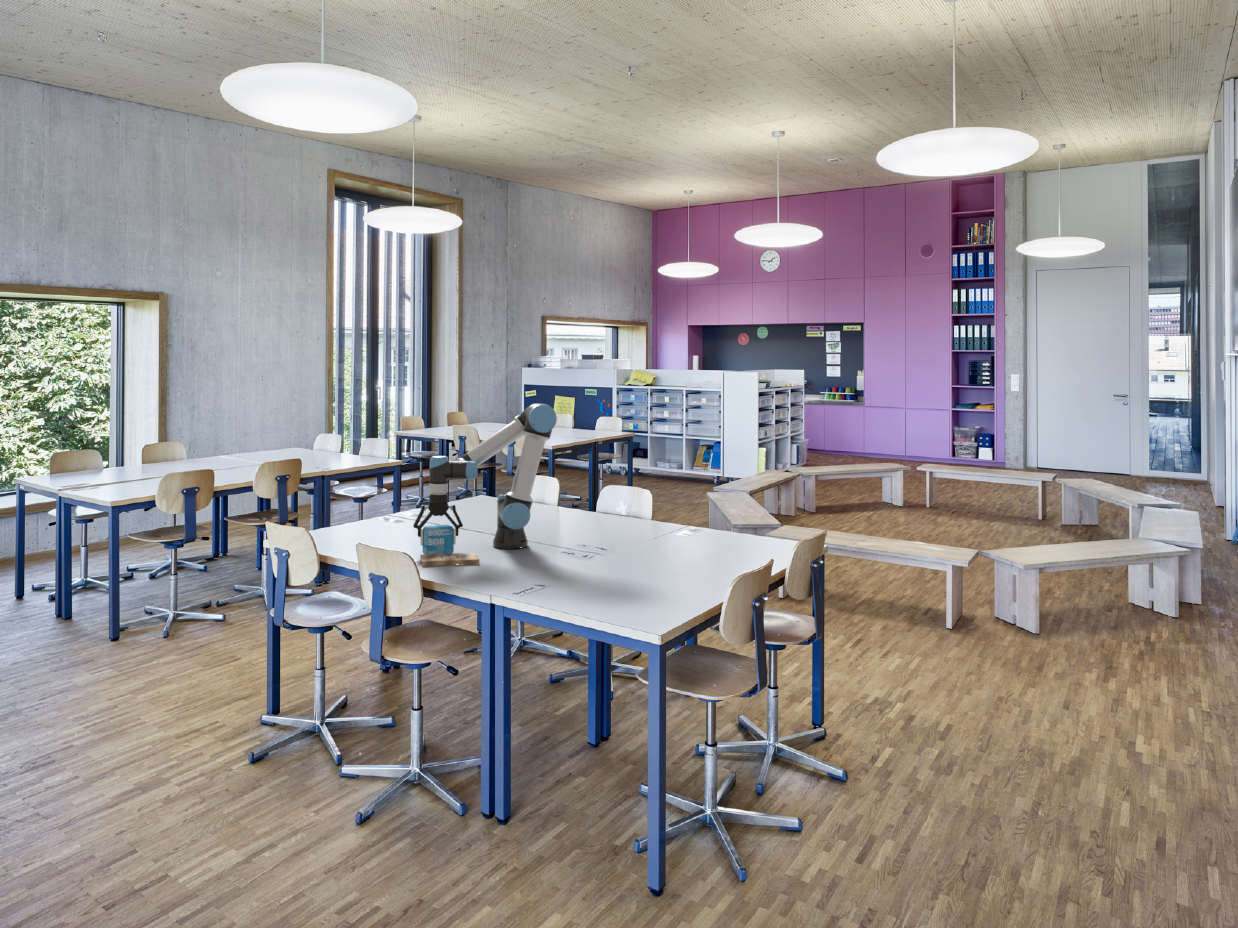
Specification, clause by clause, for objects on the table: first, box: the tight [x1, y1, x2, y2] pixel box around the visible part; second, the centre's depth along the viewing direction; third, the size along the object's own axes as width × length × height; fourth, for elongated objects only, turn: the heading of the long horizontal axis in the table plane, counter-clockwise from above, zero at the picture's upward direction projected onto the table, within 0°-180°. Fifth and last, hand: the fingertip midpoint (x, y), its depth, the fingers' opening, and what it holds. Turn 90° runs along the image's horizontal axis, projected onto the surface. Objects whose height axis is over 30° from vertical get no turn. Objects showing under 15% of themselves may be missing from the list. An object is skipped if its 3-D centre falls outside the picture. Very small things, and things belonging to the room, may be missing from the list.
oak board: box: [419, 552, 480, 567], centre depth 333 cm, size 22×13×2 cm, turn 107°
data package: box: [422, 524, 455, 555], centre depth 346 cm, size 12×4×12 cm, turn 124°
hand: (438, 544), depth 346 cm, fingers closed on data package, 13 cm apart
